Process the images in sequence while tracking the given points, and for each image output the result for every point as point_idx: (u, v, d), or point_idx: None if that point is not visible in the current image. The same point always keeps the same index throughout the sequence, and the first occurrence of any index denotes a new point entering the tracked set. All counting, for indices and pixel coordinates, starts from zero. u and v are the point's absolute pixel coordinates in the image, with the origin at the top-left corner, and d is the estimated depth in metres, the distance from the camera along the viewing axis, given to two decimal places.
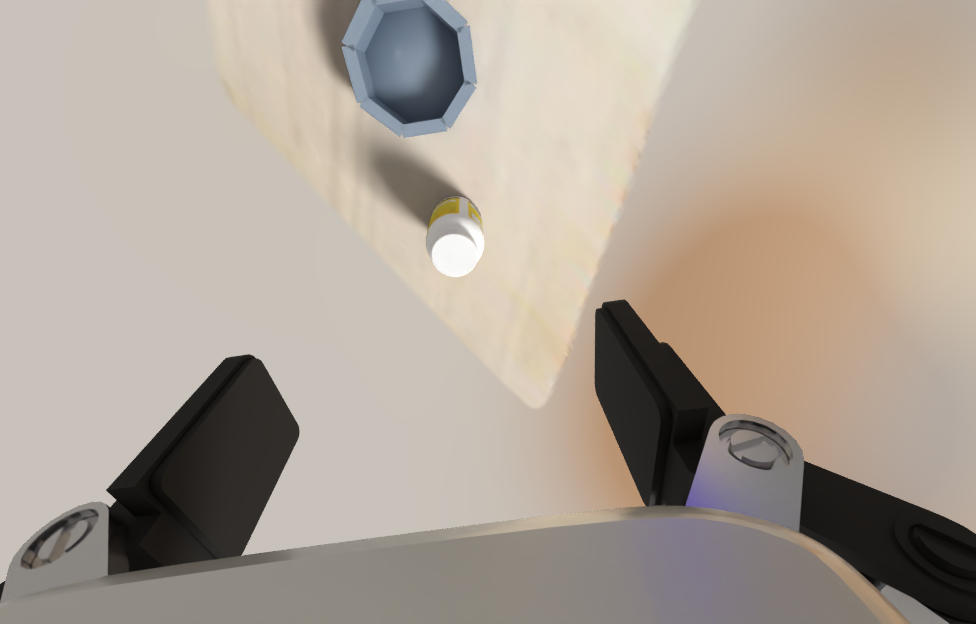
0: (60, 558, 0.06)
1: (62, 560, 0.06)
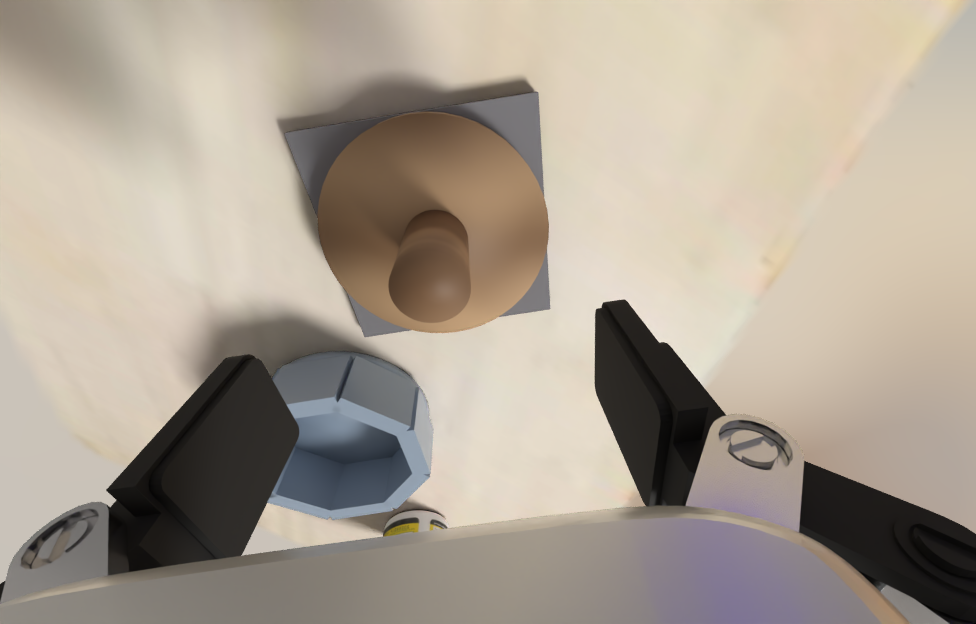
0: (60, 558, 0.06)
1: (62, 560, 0.06)
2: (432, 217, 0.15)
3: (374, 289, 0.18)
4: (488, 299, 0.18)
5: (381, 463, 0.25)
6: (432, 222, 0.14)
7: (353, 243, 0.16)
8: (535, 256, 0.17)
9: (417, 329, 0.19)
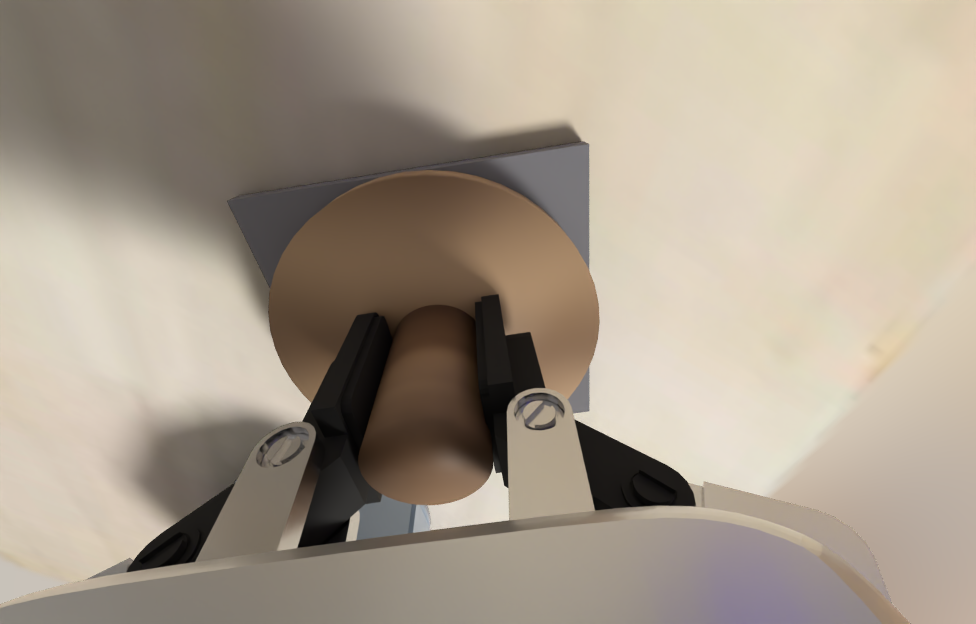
0: (275, 467, 0.07)
1: (275, 470, 0.07)
2: (433, 322, 0.10)
3: None
4: None
5: None
6: (433, 334, 0.10)
7: (321, 347, 0.11)
8: (578, 361, 0.12)
9: None
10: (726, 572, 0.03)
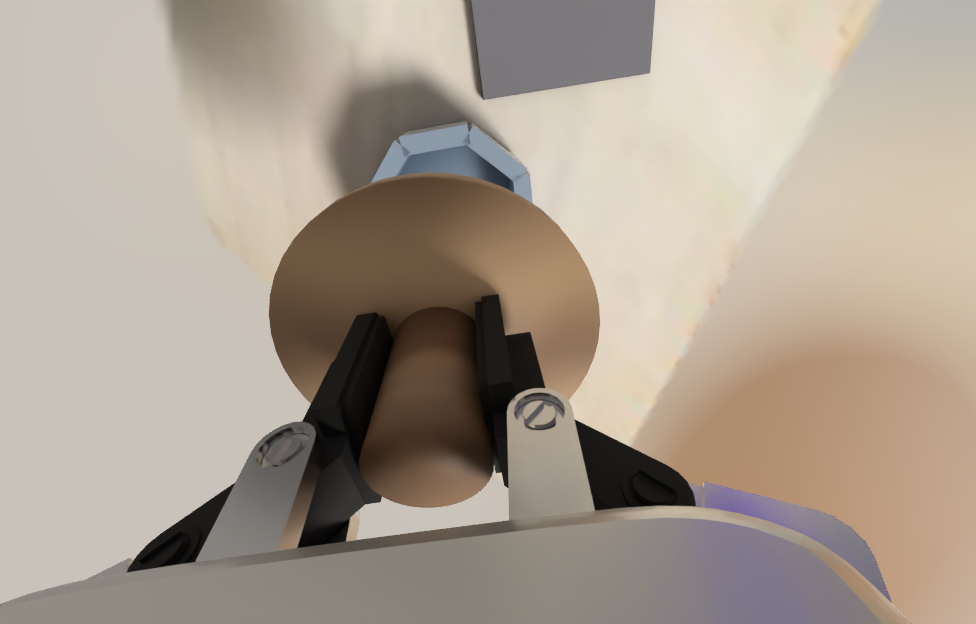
0: (275, 467, 0.07)
1: (275, 470, 0.07)
2: (434, 325, 0.10)
3: None
4: None
5: None
6: (433, 337, 0.10)
7: (322, 349, 0.11)
8: (578, 363, 0.12)
9: None
10: (726, 572, 0.03)
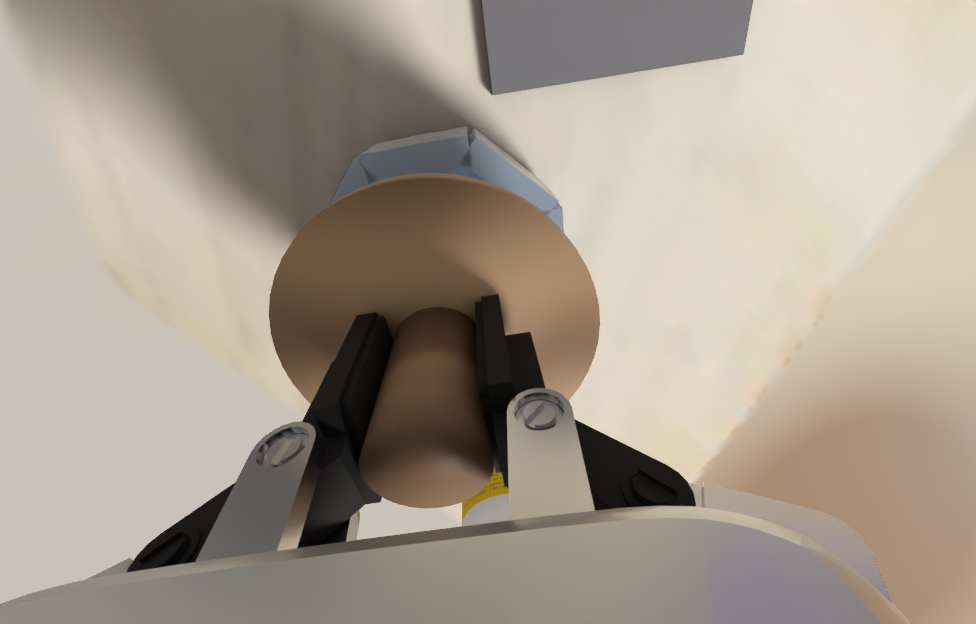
0: (275, 466, 0.07)
1: (275, 470, 0.07)
2: (434, 325, 0.10)
3: None
4: None
5: None
6: (433, 337, 0.10)
7: (322, 349, 0.11)
8: (578, 363, 0.12)
9: None
10: (726, 572, 0.03)
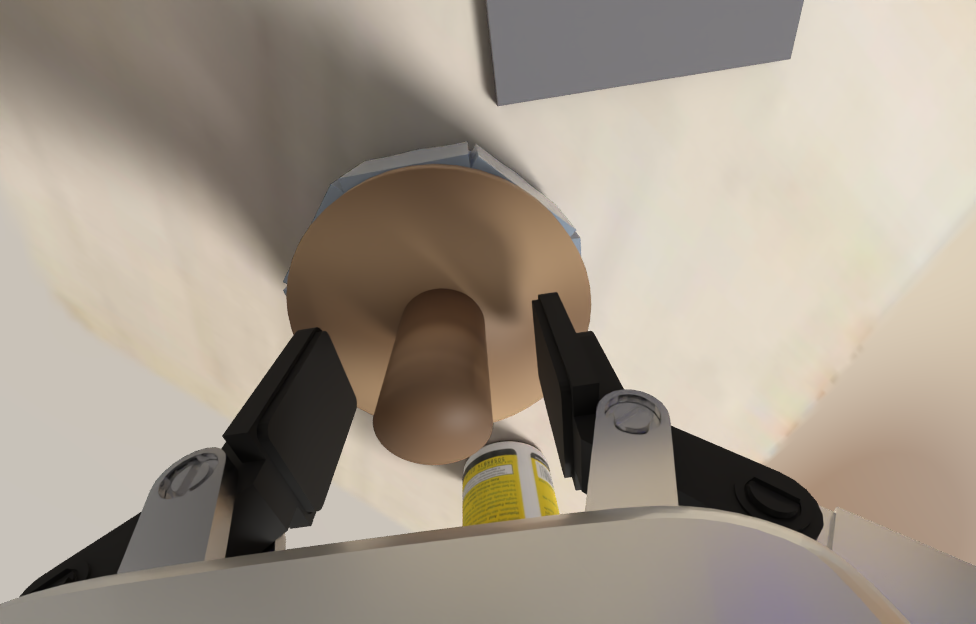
0: (184, 495, 0.06)
1: (184, 498, 0.06)
2: (438, 303, 0.11)
3: (362, 381, 0.14)
4: (508, 392, 0.14)
5: None
6: (438, 314, 0.11)
7: (334, 328, 0.12)
8: None
9: None
10: (726, 572, 0.03)
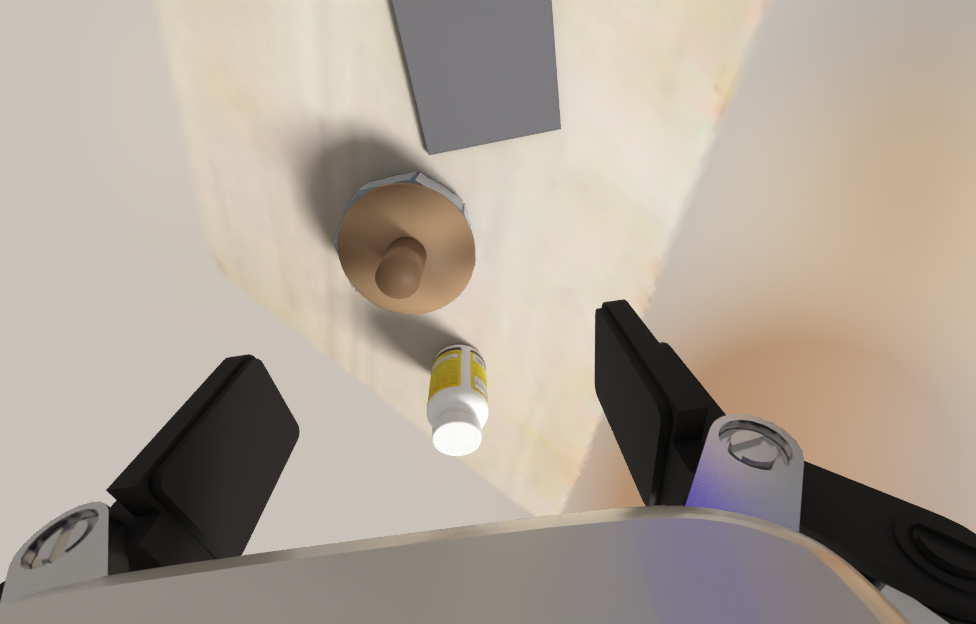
0: (60, 558, 0.06)
1: (62, 560, 0.06)
2: (402, 241, 0.26)
3: (371, 285, 0.29)
4: (442, 291, 0.29)
5: None
6: (401, 243, 0.25)
7: (358, 257, 0.27)
8: (468, 263, 0.28)
9: (399, 312, 0.30)
10: (725, 572, 0.03)
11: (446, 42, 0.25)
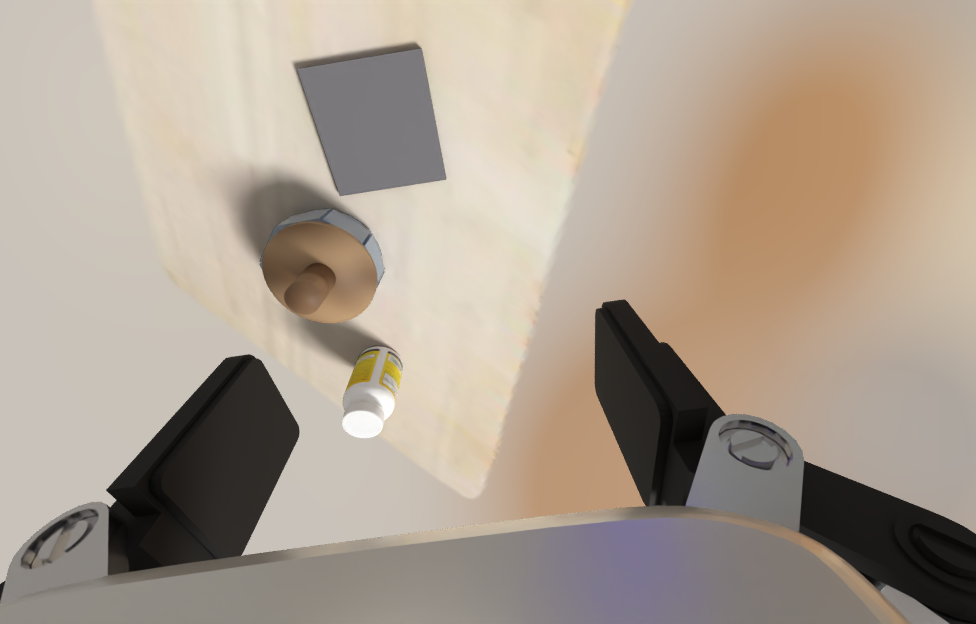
0: (60, 558, 0.06)
1: (62, 560, 0.06)
2: (312, 267, 0.33)
3: None
4: (351, 306, 0.36)
5: None
6: (310, 270, 0.32)
7: (280, 277, 0.34)
8: (370, 284, 0.35)
9: (317, 321, 0.37)
10: (726, 572, 0.03)
11: (347, 112, 0.31)
